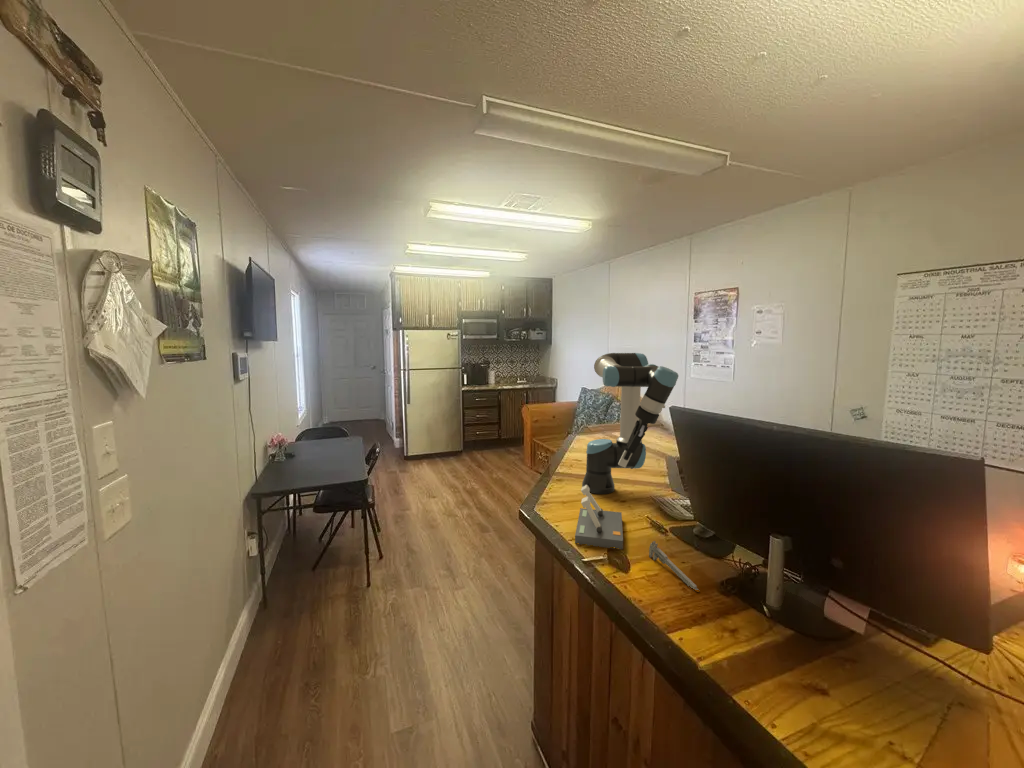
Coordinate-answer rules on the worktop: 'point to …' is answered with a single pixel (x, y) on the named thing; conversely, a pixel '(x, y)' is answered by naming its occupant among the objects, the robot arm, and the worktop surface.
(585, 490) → the lever
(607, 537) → the panel
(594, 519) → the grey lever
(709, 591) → the worktop surface
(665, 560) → the caliper
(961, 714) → the worktop surface
